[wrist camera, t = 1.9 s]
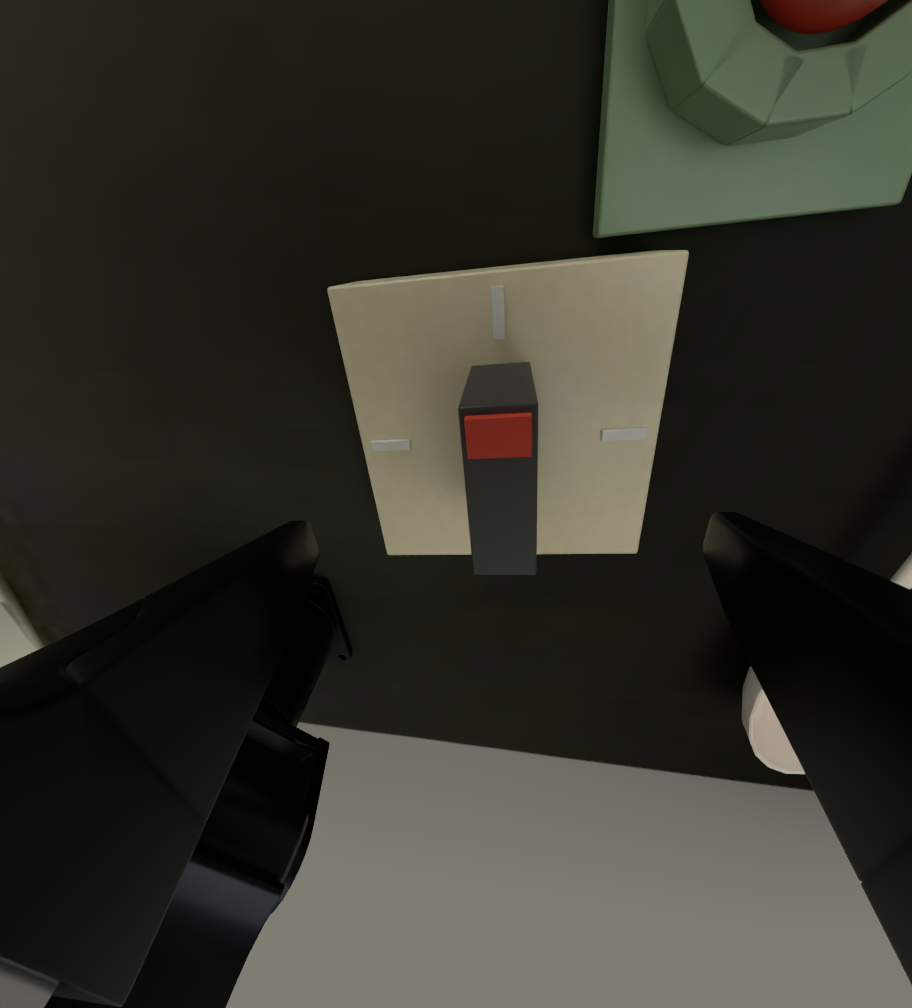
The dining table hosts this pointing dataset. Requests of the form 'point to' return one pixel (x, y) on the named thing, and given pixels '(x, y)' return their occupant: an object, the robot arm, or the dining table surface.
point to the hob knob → (501, 467)
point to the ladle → (765, 724)
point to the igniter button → (818, 13)
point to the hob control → (557, 378)
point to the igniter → (748, 115)
